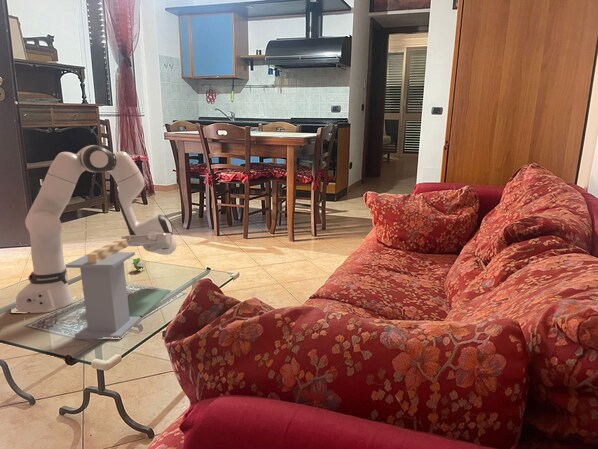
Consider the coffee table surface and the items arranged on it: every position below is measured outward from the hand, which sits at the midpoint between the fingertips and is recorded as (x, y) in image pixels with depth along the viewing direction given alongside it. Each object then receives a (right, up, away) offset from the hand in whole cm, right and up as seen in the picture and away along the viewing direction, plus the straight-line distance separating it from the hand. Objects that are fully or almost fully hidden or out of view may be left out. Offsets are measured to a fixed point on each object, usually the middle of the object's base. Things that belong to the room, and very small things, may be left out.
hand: (136, 237), depth 179 cm
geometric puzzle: (-16, -19, +47) cm, 53 cm away
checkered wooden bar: (-1, -5, -22) cm, 23 cm away
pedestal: (-1, -32, -22) cm, 39 cm away
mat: (+1, -27, +2) cm, 27 cm away
